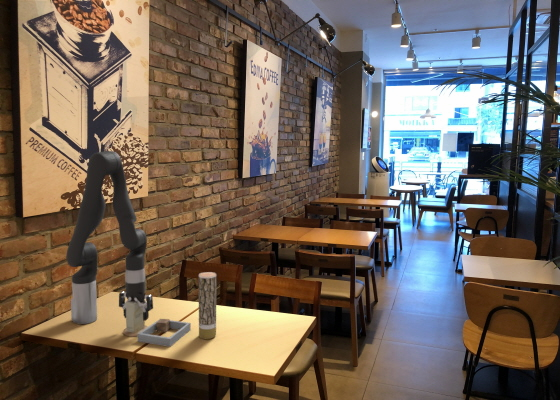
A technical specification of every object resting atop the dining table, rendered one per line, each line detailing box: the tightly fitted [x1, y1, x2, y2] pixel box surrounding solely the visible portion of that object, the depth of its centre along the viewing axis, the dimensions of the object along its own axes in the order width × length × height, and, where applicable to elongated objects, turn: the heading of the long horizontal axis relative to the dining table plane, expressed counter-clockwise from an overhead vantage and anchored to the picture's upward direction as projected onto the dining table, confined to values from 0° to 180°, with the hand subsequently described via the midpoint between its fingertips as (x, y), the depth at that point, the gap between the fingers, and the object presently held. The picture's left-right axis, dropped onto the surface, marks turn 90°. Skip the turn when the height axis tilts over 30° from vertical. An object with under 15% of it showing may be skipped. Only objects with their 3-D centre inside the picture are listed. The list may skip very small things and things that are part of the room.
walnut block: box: [156, 318, 171, 333], centre depth 180 cm, size 4×4×4 cm
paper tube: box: [198, 271, 217, 340], centre depth 174 cm, size 7×7×25 cm
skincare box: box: [125, 301, 146, 333], centre depth 178 cm, size 6×4×12 cm
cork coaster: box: [122, 325, 149, 337], centre depth 178 cm, size 10×10×1 cm
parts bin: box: [137, 319, 192, 347], centre depth 175 cm, size 14×16×3 cm
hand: (136, 318), depth 178 cm, fingers open, 8 cm apart
